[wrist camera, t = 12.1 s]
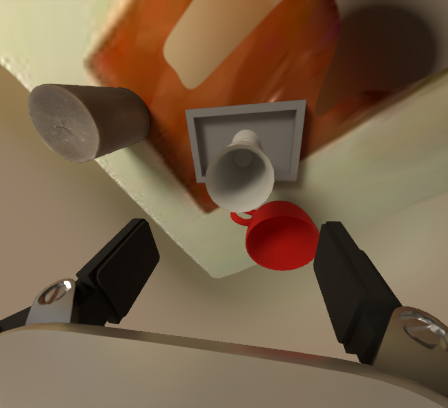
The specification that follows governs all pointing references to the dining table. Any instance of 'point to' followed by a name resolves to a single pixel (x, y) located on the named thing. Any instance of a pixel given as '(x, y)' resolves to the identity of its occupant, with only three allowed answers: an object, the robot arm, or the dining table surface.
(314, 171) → the dining table surface
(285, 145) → the tray
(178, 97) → the dining table surface
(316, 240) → the ceramic cup
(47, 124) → the pillar candle
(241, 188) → the chalice
